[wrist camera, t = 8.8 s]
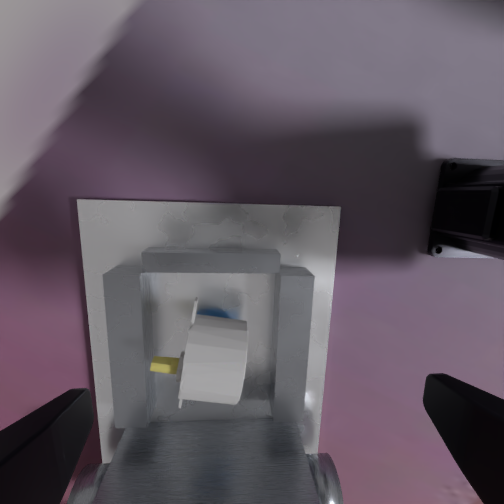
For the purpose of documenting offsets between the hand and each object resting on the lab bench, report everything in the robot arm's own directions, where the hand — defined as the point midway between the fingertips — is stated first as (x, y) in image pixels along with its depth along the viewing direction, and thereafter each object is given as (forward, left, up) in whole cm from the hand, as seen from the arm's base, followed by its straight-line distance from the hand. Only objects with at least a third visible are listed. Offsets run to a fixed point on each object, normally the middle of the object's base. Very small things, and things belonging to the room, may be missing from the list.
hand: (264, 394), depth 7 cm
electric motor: (+3, +4, -11) cm, 12 cm away
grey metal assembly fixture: (+2, +6, -12) cm, 14 cm away
